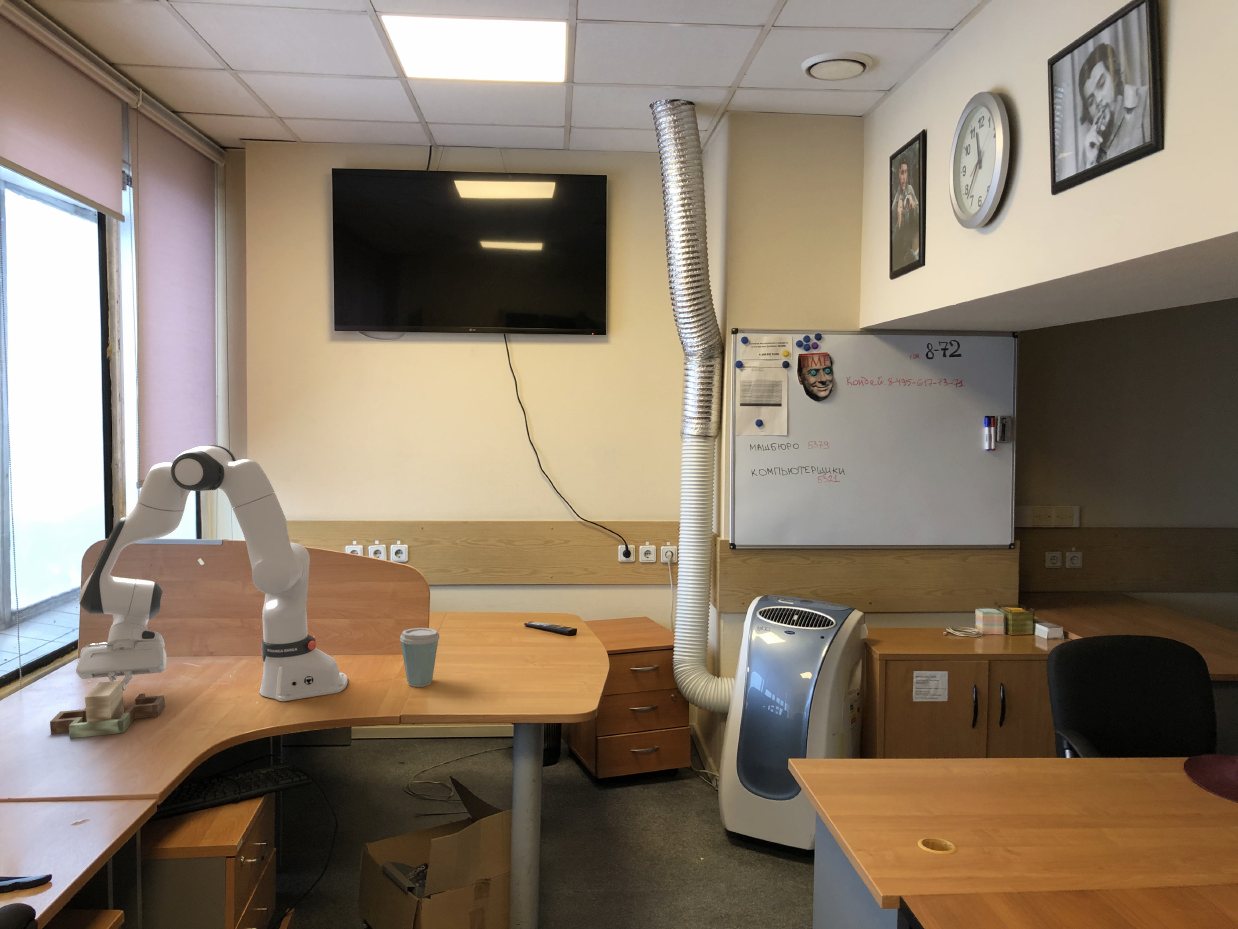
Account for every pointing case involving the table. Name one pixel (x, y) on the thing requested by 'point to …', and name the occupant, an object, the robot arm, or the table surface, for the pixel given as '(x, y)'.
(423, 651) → the disposable coffee cup
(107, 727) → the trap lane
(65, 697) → the table surface
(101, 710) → the beech block
